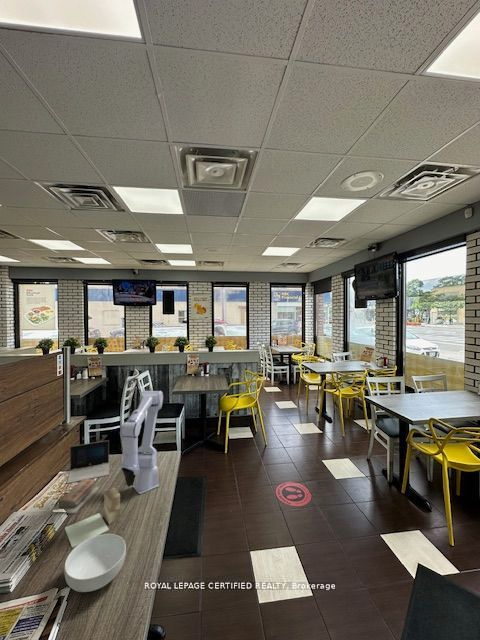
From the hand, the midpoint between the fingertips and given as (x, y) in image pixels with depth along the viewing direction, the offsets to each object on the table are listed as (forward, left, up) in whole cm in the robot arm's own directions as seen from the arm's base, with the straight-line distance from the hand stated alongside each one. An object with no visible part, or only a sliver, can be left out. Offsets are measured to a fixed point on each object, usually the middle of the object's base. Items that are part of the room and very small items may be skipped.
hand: (130, 484), depth 116 cm
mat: (+16, 0, -10) cm, 19 cm away
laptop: (+5, -41, -11) cm, 43 cm away
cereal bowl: (+19, +23, -11) cm, 32 cm away
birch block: (+7, 0, -10) cm, 13 cm away
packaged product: (+14, -22, -11) cm, 29 cm away
